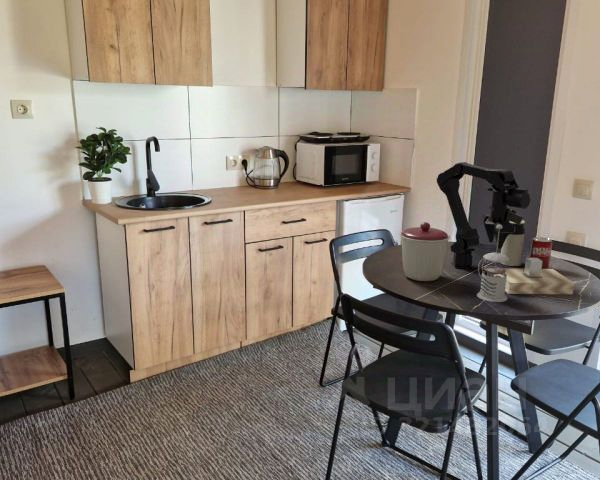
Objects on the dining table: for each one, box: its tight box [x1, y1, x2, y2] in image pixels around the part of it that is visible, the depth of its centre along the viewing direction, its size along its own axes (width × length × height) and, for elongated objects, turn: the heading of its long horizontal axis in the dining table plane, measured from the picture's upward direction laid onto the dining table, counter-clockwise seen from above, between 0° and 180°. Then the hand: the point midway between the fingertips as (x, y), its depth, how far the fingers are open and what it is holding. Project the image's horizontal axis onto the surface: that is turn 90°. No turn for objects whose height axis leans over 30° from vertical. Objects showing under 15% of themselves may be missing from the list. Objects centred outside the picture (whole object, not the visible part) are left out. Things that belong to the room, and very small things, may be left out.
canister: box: [399, 221, 451, 282], centre depth 191 cm, size 18×18×21 cm
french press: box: [476, 225, 509, 303], centre depth 172 cm, size 10×12×25 cm
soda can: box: [529, 236, 553, 269], centre depth 203 cm, size 7×7×12 cm
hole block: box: [494, 268, 575, 295], centre depth 184 cm, size 22×16×4 cm
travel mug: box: [500, 219, 526, 267], centre depth 208 cm, size 8×8×18 cm
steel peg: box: [524, 257, 542, 278], centre depth 183 cm, size 4×4×10 cm
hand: (495, 245), depth 192 cm, fingers open, 9 cm apart
